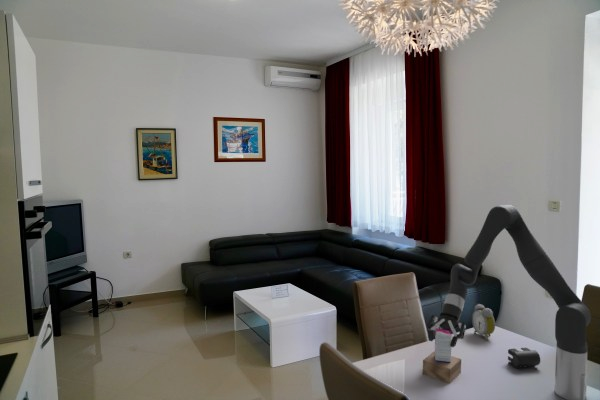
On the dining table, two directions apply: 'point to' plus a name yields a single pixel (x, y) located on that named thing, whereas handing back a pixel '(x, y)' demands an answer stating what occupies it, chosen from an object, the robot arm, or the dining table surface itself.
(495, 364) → the dining table surface
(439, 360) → the supplement box
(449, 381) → the walnut block
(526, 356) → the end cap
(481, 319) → the alarm clock
